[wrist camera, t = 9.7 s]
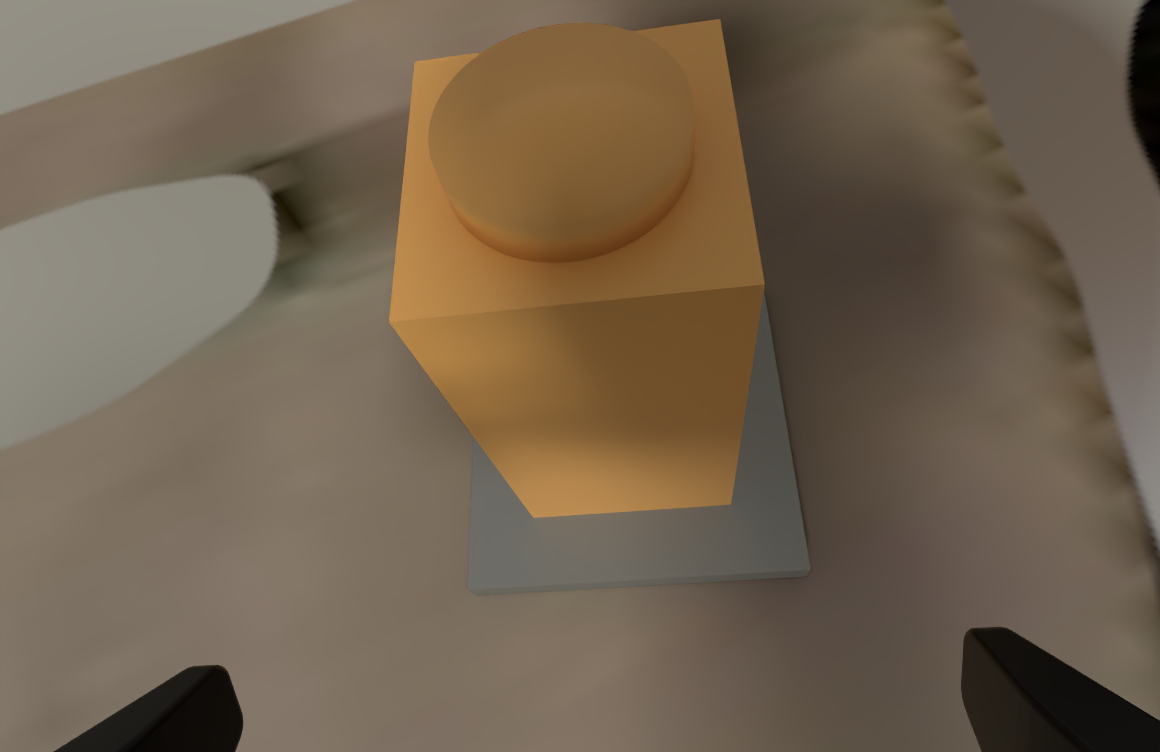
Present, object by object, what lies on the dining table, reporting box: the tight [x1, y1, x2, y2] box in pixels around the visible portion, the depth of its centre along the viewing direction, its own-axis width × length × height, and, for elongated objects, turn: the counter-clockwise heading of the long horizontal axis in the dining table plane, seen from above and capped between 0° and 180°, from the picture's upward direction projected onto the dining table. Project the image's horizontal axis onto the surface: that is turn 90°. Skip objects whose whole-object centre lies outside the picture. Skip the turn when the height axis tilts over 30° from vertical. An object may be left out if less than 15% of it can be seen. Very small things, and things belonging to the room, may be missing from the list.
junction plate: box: [467, 292, 811, 595], centre depth 22 cm, size 10×10×4 cm
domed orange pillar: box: [389, 19, 765, 518], centre depth 18 cm, size 6×6×13 cm
